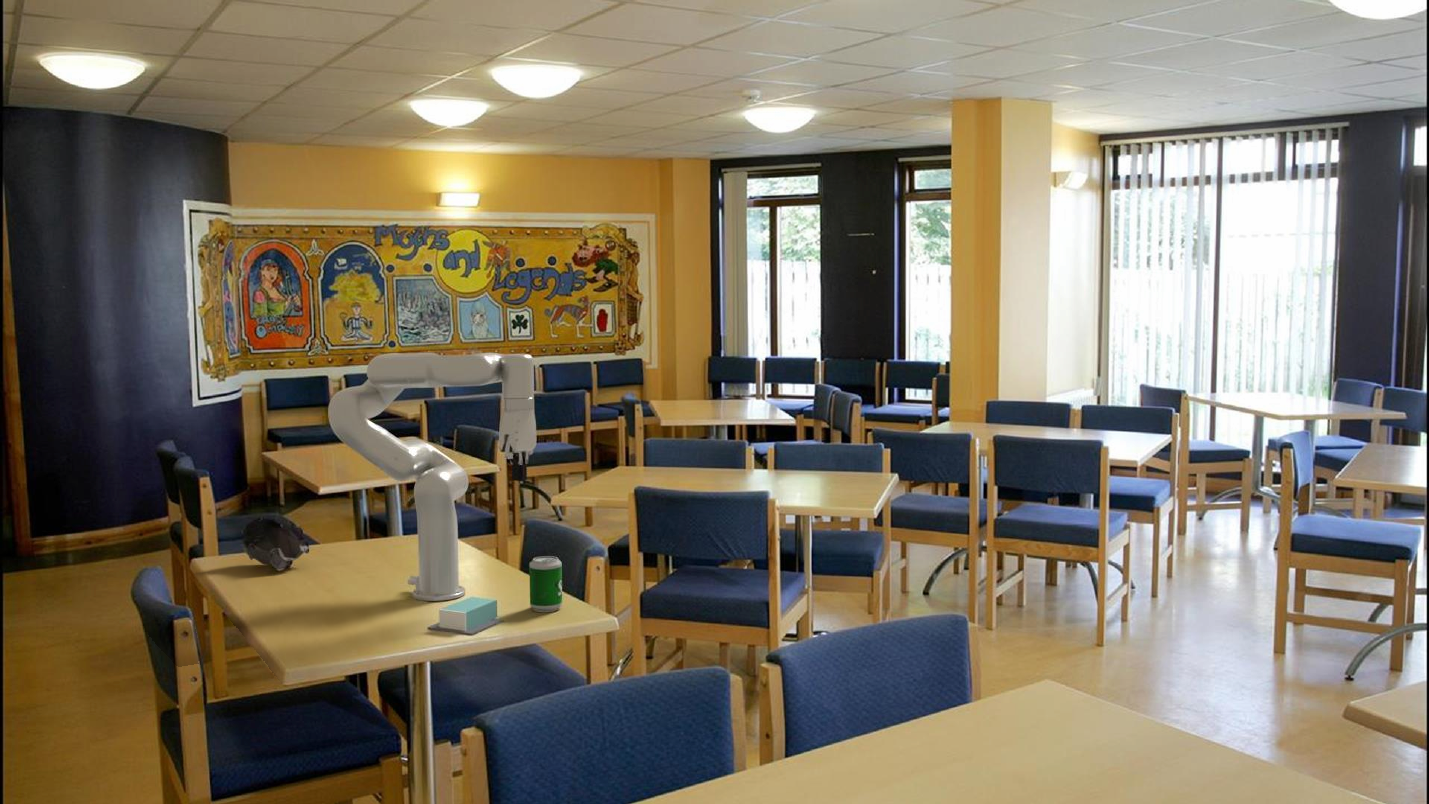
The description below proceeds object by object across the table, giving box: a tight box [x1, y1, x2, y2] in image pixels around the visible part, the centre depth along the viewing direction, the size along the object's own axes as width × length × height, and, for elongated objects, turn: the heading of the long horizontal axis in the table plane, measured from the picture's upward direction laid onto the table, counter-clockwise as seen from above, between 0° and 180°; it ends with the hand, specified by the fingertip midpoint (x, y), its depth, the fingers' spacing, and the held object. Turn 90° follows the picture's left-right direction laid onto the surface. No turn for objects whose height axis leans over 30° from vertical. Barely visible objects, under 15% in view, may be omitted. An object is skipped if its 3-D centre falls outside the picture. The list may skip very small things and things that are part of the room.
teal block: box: [438, 596, 498, 631], centre depth 256 cm, size 7×4×12 cm
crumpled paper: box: [239, 515, 310, 571], centre depth 311 cm, size 14×15×20 cm
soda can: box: [528, 555, 563, 613], centre depth 268 cm, size 8×8×12 cm
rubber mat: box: [427, 618, 505, 636], centre depth 255 cm, size 12×12×1 cm
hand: (519, 480), depth 276 cm, fingers closed
